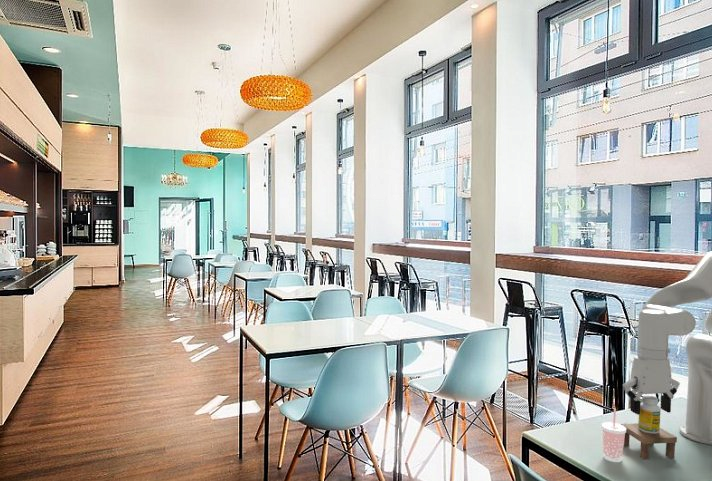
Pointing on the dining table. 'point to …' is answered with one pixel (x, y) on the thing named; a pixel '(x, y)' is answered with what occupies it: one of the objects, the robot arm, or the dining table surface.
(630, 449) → the dining table surface
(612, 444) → the beverage cup
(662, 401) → the robot arm
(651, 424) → the supplement bottle
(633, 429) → the footstool
